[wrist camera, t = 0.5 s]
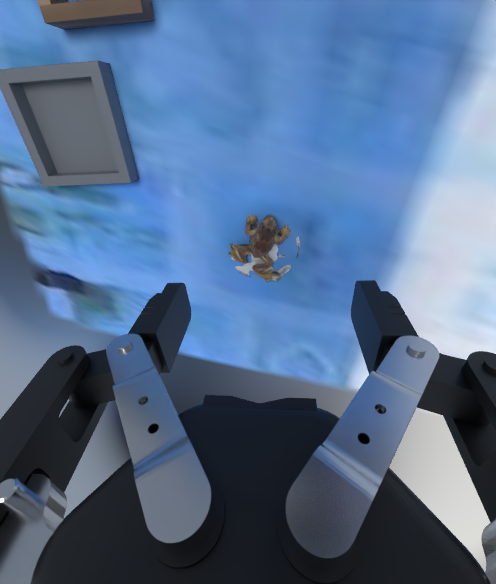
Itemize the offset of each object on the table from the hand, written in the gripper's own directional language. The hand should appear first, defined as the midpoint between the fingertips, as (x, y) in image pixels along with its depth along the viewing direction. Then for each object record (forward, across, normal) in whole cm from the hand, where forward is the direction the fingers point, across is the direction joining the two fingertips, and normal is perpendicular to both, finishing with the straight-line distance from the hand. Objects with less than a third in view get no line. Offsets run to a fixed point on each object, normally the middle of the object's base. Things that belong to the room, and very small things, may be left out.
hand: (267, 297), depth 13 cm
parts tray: (+27, +24, -6) cm, 37 cm away
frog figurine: (+28, +2, +10) cm, 30 cm away
